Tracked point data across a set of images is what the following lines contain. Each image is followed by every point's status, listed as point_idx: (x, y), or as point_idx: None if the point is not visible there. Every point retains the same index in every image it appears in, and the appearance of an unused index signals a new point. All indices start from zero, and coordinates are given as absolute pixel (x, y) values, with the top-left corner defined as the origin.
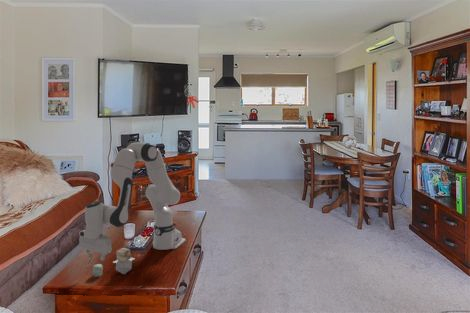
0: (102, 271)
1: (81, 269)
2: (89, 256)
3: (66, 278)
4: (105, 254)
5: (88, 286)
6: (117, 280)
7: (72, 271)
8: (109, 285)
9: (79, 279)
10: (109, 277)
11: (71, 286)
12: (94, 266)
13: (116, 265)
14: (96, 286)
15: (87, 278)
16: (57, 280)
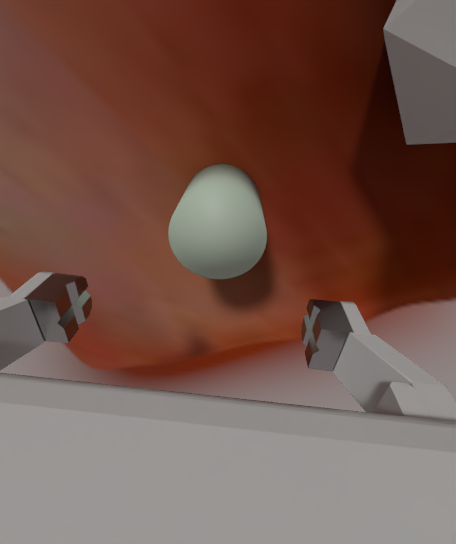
0: (255, 190)
1: (16, 175)
2: (85, 317)
3: None
4: (428, 387)
5: (282, 334)
6: (443, 216)
7: (5, 229)
8: (411, 291)
9: (162, 294)
10: (345, 199)
11: (195, 356)
12: (196, 257)
13: (422, 107)
14: None
15: None
16: None
